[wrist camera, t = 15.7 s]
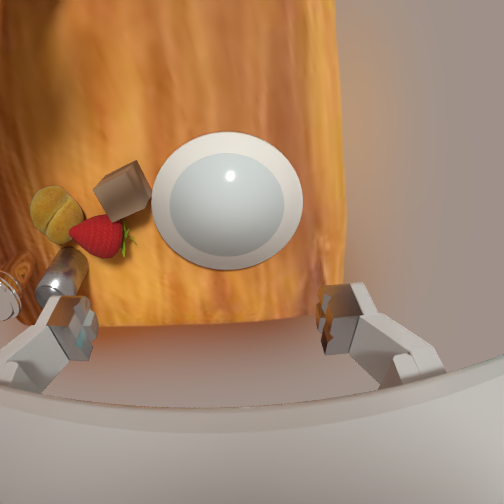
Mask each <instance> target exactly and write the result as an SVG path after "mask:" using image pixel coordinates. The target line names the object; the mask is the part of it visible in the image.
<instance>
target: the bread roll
mask: <svg viewBox="0 0 504 504" xmlns="http://www.w3.org/2000/svg"><path fill="white" fill-rule="evenodd" d="M30 216H31V219H32V222H33V224H34V226H35V227H36V228H37V229H38V230H39V231H40V232H42V233H44V234H46V235H47V237H48V238H49V239H50V241H52V242H54V243H56V244H64V243H66V242H68V241H70V240H72V238H71V237H70V236H69V233H68V232H69V229H70V228H71V227H73V226H76V225H77V224H79V223H81V222H83V221H84V216H83V212H82V209H81V207H80V205H79V204H78V203H77V202H76V201H75V200H74V199H73V198H72V197H71V196H70V195H69V194H68V193H67V192H66V191H65V190H64V189H63V188H61V187H60V186H48V187H45V188H42V189H40V190H39V191H38V192H37V193H36V194H35V195H34V197H33V199H32V201H31V205H30Z"/></svg>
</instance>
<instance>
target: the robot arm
mask: <svg viewBox="0 0 504 504" xmlns="http://www.w3.org/2000/svg"><path fill="white" fill-rule="evenodd" d="M318 297H319V301H320V302H319V303H318V304H317V305H316V325H317V329H318V331H319V332H320V333H321V334H322V337H321V343H322V347H323V350H324V354H325V355H335V354H345V353H349V355H350V356H351V357H352V358H353V359H354V360H355V361H356V362H357V363H358V364H359V365H360V366H361V367H362V368H363V369H365V370H366V371H367V372H368V373H369V374H370V375H371V376H372V377H373V378H374V379H375V380H376V381H377V382H378V383H379V384H380V386H379V388H378V390H375V391H370V392H365V393H359V394H353V395H348V396H341V397H335V398H328V399H321V400H313V401H305V402H296V403H287V404H275V405H263V406H249V407H226V408H225V407H224V408H168V407H145V406H131V405H118V404H108V403H98V402H89V401H82V400H75V399H67V398H61V397H55V396H50V395H44V394H42V391H43V390H44V389H45V388H46V387H47V386H48V385H49V384H50V382H51V381H52V380H53V379H54V378H55V377H56V376H57V375H58V374H59V372H60V371H61V370H62V369H63V368H64V367H65V366H66V365H67V363H68V362H69V360H76V361H89V357H90V355H91V352H92V349H93V346H92V344H91V342H92V341H93V340H94V339H96V337H97V334H98V325H99V324H98V319H97V316H96V314H95V313H94V312H93V311H92V310H91V309H90V306H91V303H90V301H89V299H88V297H86V296H66V295H63V296H57V295H53V296H51V297H50V298H49V300H48V301H47V303H46V305H45V307H44V309H43V311H42V312H41V314H40V316H39V318H38V320H37V322H36V324H35V325H31V326H30V327H29V328H27V329H26V330H25V331H23V332H22V333H21V334H19V335H18V336H17V337H16V338H14V339H13V340H12V341H10V342H9V343H8V344H7V345H5V346H4V347H3V348H2V349H0V504H504V354H503V355H500V356H498V357H495V358H492V359H489V360H486V361H483V362H481V363H478V364H475V365H471V366H468V367H465V368H462V369H459V370H456V371H452V372H449V373H446V371H445V369H444V367H443V365H442V363H441V361H440V359H439V357H438V355H437V353H436V351H435V349H434V347H433V346H432V345H430V344H429V343H427V342H425V341H424V340H423V339H421V338H419V337H418V336H416V335H415V334H413V333H412V332H410V331H409V330H407V329H406V328H404V327H403V326H401V325H400V324H398V323H396V322H395V321H393V320H392V319H390V318H389V317H388V316H386V315H385V314H383V313H381V314H379V313H378V311H377V309H376V307H375V305H374V303H373V301H372V299H371V297H370V295H369V293H368V291H367V289H366V287H365V285H364V284H363V283H362V282H355V283H348V284H337V285H325V286H320V287H319V290H318Z"/></svg>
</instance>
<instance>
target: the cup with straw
mask: <svg viewBox="0 0 504 504" xmlns="http://www.w3.org/2000/svg"><path fill="white" fill-rule="evenodd" d="M35 267H36V259H35V257H34V255H33V254H32V253H31V252H30V251H29V250H27V249H23V248H21V249H19V250H18V251H17V252H16V253H14V254H13V255H12V256H11V257H10V258H9V259H8V260H7V261H6V262H5V263H4V264H3V265H2V266H1V267H0V321H5V320H7V319H9V318H14V317H16V316H17V315H18V314H19V313H20V312H21V308H22V305H21V298H22V296H23V292H24V290H25V288H26V286H27V283H28V281H29V279H30V277H31V275H32V273H33V271H34V268H35Z"/></svg>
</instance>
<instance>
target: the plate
mask: <svg viewBox="0 0 504 504" xmlns="http://www.w3.org/2000/svg"><path fill="white" fill-rule="evenodd" d="M151 205H152V214H153V218H154V221H155V224H156V226H157V229H158V231H159V232H160V234H161V236H162V238H163V239H164V240H165V241H166V243H167V244H168V245H169V246H170V247H171V248H172V249H173V250H174V251H175V252H176V253H178V254H179V255H180V256H182V257H183V258H185V259H187V260H188V261H191V262H193V263H195V264H197V265H200V266H203V267H207V268H212V269H219V270H234V269H242V268H247V267H250V266H253V265H256V264H259V263H261V262H263V261H265V260H267V259H269V258H270V257H272V256H274V255H275V254H276V253H277V252H279V251H280V250H281V249H282V248H283V247H284V246H285V245H286V244H287V243H288V241H289V240H290V239H291V238H292V236H293V234H294V233H295V231H296V229H297V227H298V224H299V222H300V218H301V215H302V208H303V195H302V189H301V185H300V182H299V179H298V176H297V174H296V172H295V170H294V168H293V167H292V165H291V164H290V162H289V161H288V159H287V158H286V157H285V156H284V155H283V154H282V153H281V152H280V151H279V150H278V149H277V148H276V147H274V146H273V145H272V144H270V143H268V142H267V141H265V140H263V139H261V138H259V137H256V136H254V135H250V134H247V133H242V132H235V131H220V132H212V133H208V134H204V135H201V136H199V137H196V138H194V139H191V140H190V141H188V142H186V143H185V144H183V145H182V146H180V147H179V148H178V149H177V150H175V151H174V152H173V153H172V154H171V155H170V156H169V158H168V159H167V160H166V162H165V163H164V164H163V166H162V167H161V169H160V171H159V173H158V175H157V177H156V180H155V183H154V186H153V191H152V200H151Z"/></svg>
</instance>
